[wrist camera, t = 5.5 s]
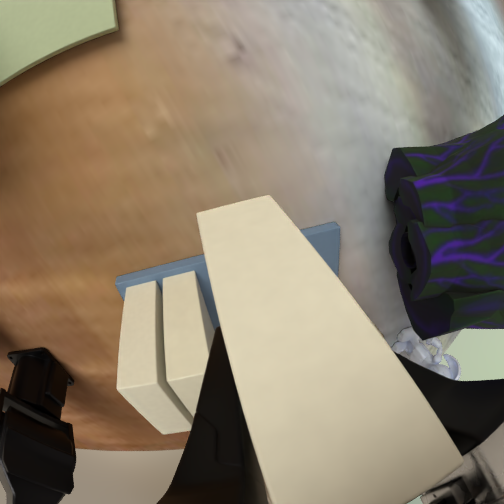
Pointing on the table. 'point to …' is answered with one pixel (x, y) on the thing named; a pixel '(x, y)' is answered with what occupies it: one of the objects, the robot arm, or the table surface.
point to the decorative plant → (450, 231)
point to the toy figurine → (426, 354)
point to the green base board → (48, 30)
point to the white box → (315, 370)
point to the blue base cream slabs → (178, 333)
